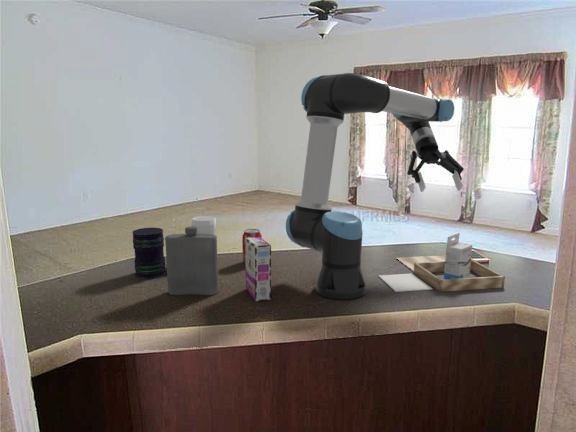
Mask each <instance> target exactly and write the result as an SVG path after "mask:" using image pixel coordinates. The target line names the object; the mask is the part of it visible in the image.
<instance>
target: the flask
mask: <svg viewBox="0 0 576 432" xmlns="http://www.w3.org/2000/svg"><path fill="white" fill-rule="evenodd" d="M184 232H185V233H173V234H168V235H165V236H164V237H165V238H164V241H165V242H164V245H165V263H166V273H167V275H166V277H167V293H168V294H169V295H170V296H185V295H187V296H188V295H195V296H196V295H197V296H199V295H200V296H214V295H217V294H218V293H219V268H218V261H217V259H218V239H217V235H216V234H214V235H213V234H198V233H197V228H196V227H194V226H192V225H190V226H186V227H185V228H184Z"/></svg>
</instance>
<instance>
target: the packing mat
mask: <svg viewBox="0 0 576 432" xmlns="http://www.w3.org/2000/svg"><path fill="white" fill-rule="evenodd" d="M378 278H380V279H381V280H382V281H383V282H384V283H385V285H388V287H389V288H390V289H392V291H394V293H401V292H402V293H403V292H419V291H421V292H422V291H432V290H433V289H434V287H433V288H432V286H431V285H429V284H428V283H427V282H425V281H424V280H423V279H421V278H420V277H419V276H417V275H416V274H415V273H414V272H413V273H399V274H396V273H395V274H381V275H380V274H379V275H378Z"/></svg>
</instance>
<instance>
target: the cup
mask: <svg viewBox="0 0 576 432" xmlns="http://www.w3.org/2000/svg"><path fill="white" fill-rule="evenodd" d="M191 226H194V227H196V228H197V233H198V234H213V235H216V229H217V219H216V217H215V216H211V215H201V216H199V215H198V216H195V217H192V218H191ZM218 259H219V258H217V262H218V261H219V260H218Z"/></svg>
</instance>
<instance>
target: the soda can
mask: <svg viewBox="0 0 576 432" xmlns="http://www.w3.org/2000/svg"><path fill="white" fill-rule="evenodd" d="M251 237H261V238H262V239H263V236H262V234H261V230H260V229H258V228H247V229H244V230H243V234H242V237H241V238H242V239H241V240H242V244H241V245H242V246H241V247H242V261H243V263H245V264H246V260H245V238H251Z"/></svg>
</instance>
